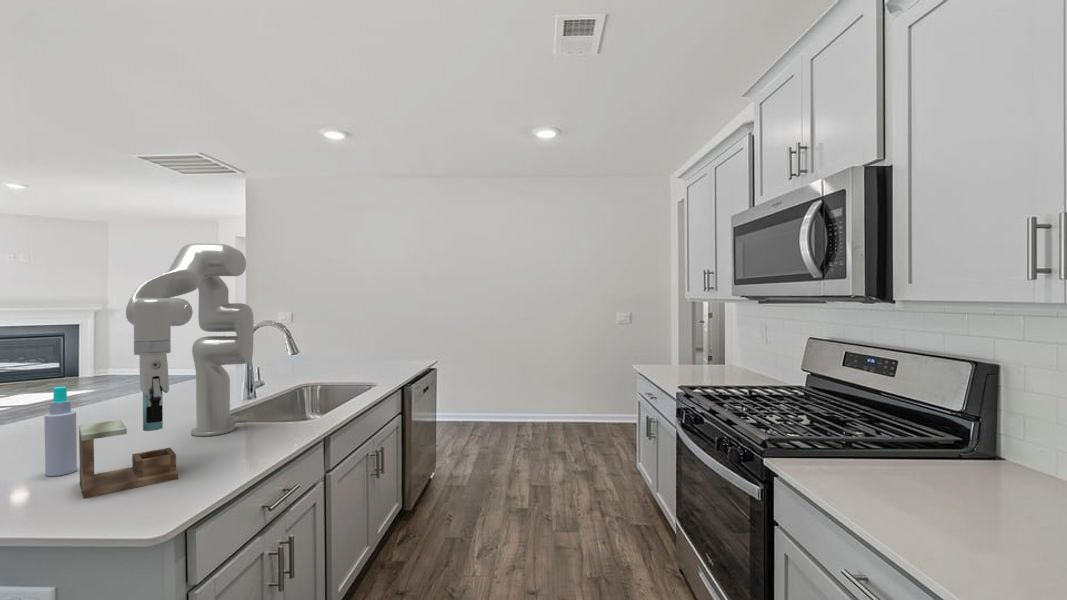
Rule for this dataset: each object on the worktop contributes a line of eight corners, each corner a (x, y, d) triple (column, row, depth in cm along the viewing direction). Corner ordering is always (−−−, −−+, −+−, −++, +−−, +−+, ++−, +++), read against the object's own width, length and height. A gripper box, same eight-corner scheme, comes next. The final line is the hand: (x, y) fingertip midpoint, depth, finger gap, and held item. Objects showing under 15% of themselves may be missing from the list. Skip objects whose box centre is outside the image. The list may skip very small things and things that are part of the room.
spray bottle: (51, 470, 136) (50, 386, 136) (80, 467, 139) (79, 384, 138) (40, 478, 131) (39, 390, 130) (71, 475, 133) (70, 388, 133)
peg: (161, 426, 135) (160, 387, 135) (163, 429, 132) (163, 389, 132) (141, 428, 132) (141, 389, 132) (144, 431, 129) (143, 391, 129)
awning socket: (168, 465, 140) (168, 413, 140) (178, 478, 131) (177, 422, 130) (79, 482, 128) (78, 425, 127) (83, 498, 118) (82, 435, 118)
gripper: (176, 349, 128) (177, 423, 128) (164, 344, 140) (165, 413, 141) (138, 351, 123) (139, 429, 123) (129, 346, 135) (130, 417, 135)
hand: (153, 419), depth 132 cm, fingers closed on peg, 4 cm apart
